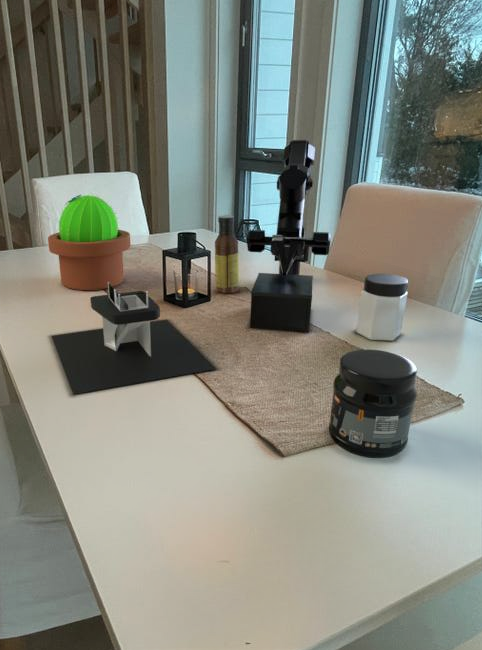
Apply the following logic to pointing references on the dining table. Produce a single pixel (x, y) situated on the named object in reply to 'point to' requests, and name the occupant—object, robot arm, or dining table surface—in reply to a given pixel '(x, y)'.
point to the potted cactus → (89, 245)
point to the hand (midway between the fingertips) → (284, 274)
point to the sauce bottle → (226, 257)
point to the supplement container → (373, 403)
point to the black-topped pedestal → (126, 346)
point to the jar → (382, 307)
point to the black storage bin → (280, 313)
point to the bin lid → (283, 285)
